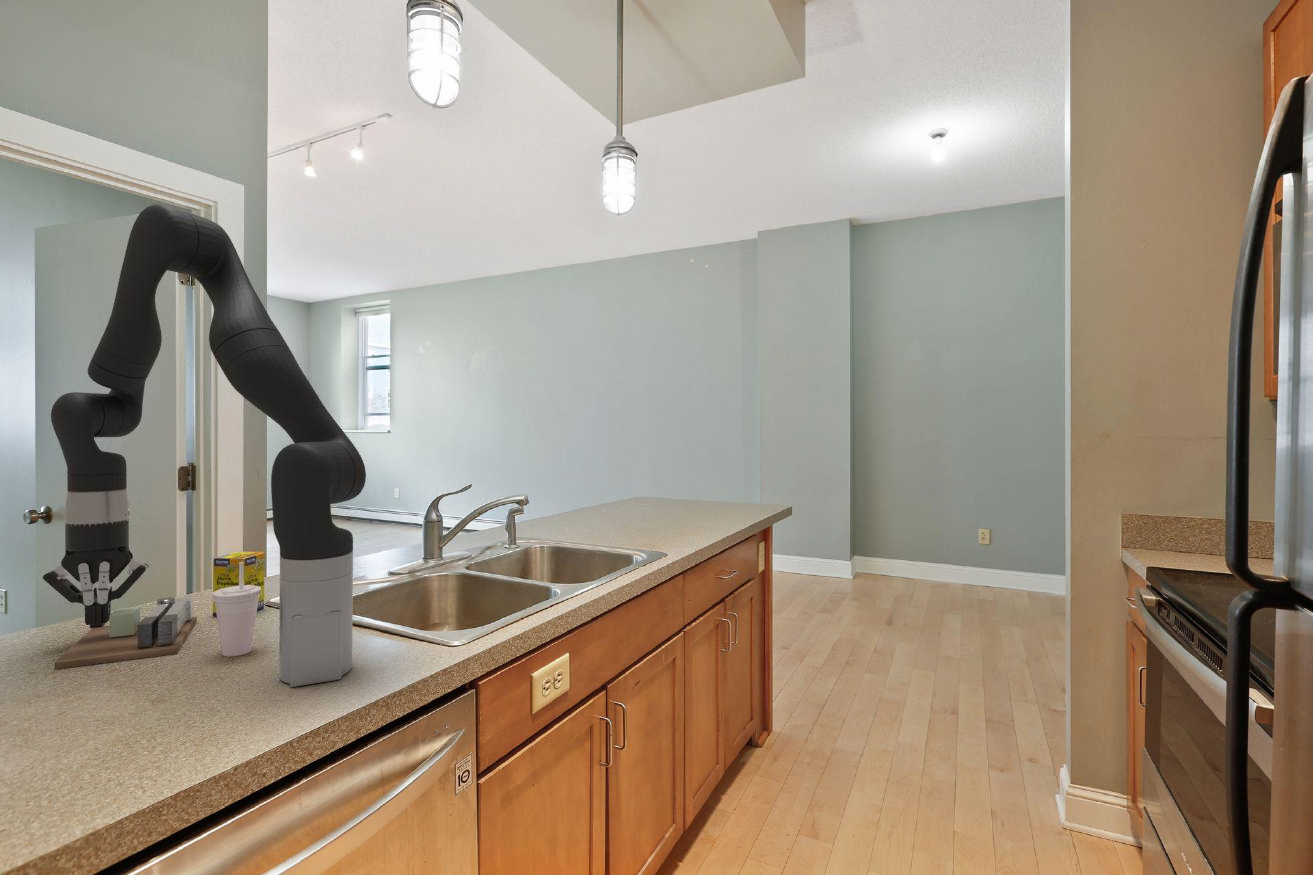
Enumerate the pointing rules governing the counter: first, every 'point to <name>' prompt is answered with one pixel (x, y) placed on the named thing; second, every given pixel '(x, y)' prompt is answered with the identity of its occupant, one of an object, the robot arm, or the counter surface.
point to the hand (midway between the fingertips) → (98, 626)
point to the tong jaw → (151, 626)
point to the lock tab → (124, 621)
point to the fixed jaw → (174, 618)
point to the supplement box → (229, 572)
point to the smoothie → (236, 615)
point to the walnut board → (117, 647)
